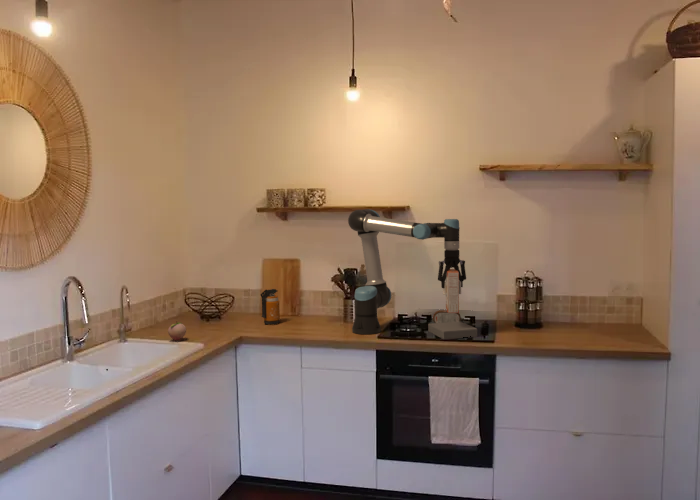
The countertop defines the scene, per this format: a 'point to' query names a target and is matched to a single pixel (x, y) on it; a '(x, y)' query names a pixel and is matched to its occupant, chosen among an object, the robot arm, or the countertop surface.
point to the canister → (270, 307)
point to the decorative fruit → (177, 331)
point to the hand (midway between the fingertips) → (452, 294)
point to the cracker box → (452, 291)
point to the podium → (452, 330)
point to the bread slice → (445, 316)
